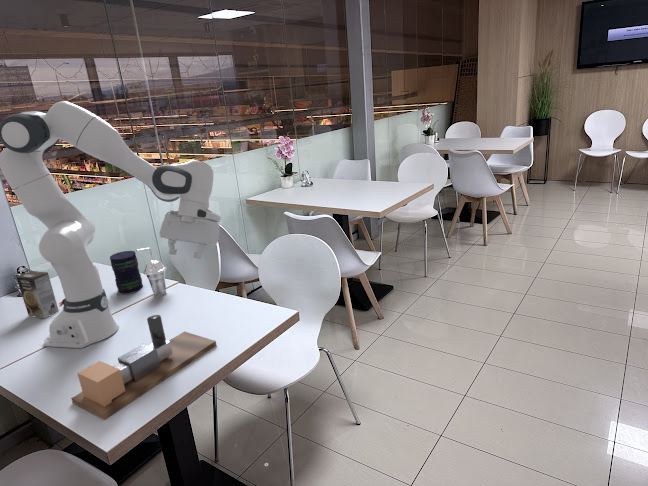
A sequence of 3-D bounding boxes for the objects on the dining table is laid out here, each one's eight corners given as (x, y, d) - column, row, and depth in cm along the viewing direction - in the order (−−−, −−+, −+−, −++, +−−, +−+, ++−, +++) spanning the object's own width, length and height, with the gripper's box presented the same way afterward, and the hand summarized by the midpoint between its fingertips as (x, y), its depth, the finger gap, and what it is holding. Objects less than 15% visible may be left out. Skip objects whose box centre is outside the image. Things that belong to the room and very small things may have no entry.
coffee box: (27, 316, 172) (14, 276, 167) (43, 308, 177) (31, 270, 172) (44, 319, 168) (32, 278, 163) (60, 311, 174) (48, 271, 169)
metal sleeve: (147, 361, 130) (143, 343, 129) (160, 366, 127) (156, 348, 125) (122, 377, 124) (117, 358, 122) (135, 382, 121) (130, 363, 119)
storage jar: (147, 287, 189) (140, 253, 184) (124, 296, 182) (116, 260, 178) (136, 282, 195) (128, 249, 191) (113, 290, 189) (105, 256, 184)
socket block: (105, 383, 122) (99, 360, 120) (126, 392, 117) (119, 369, 115) (84, 396, 117) (77, 372, 115) (104, 406, 112) (97, 382, 110)
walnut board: (185, 335, 146) (184, 331, 146) (216, 345, 139) (215, 340, 138) (72, 403, 117) (71, 398, 117) (104, 419, 110) (102, 414, 109)
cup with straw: (171, 295, 178) (160, 247, 172) (146, 300, 176) (135, 251, 170) (171, 287, 186) (161, 240, 180) (148, 292, 184) (137, 244, 178)
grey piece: (163, 350, 134) (155, 313, 130) (172, 353, 132) (164, 316, 128) (96, 391, 117) (84, 349, 114) (105, 395, 115) (94, 353, 111)
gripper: (159, 207, 145) (151, 251, 144) (213, 213, 137) (205, 259, 136) (173, 212, 151) (164, 253, 149) (225, 217, 143) (217, 261, 142)
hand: (184, 256), depth 143 cm, fingers open, 8 cm apart
